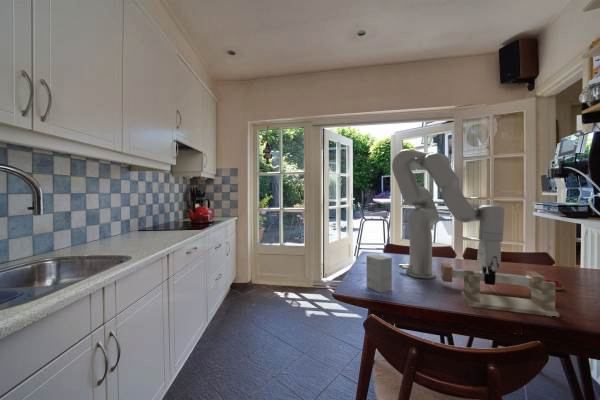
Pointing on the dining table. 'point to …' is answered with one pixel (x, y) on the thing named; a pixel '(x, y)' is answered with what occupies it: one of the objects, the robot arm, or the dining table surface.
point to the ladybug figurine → (558, 285)
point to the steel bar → (450, 273)
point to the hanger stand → (538, 304)
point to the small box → (379, 273)
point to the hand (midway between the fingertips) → (487, 282)
